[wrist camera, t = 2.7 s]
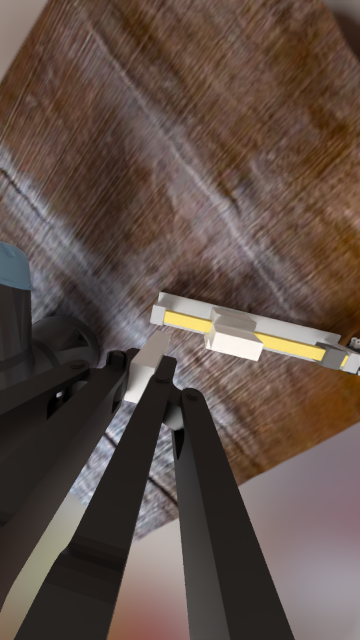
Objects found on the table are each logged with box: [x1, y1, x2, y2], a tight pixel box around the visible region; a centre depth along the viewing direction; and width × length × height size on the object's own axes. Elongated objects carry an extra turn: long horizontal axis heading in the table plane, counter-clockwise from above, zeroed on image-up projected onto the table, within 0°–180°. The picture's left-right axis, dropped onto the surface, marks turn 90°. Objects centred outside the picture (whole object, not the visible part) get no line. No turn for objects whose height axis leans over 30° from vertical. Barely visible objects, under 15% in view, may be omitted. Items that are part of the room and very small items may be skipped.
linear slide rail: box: [150, 292, 360, 374], centre depth 30 cm, size 34×6×7 cm, turn 78°
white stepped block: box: [204, 307, 264, 361], centre depth 26 cm, size 6×6×10 cm
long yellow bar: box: [163, 309, 349, 370], centre depth 28 cm, size 32×3×3 cm, turn 78°
